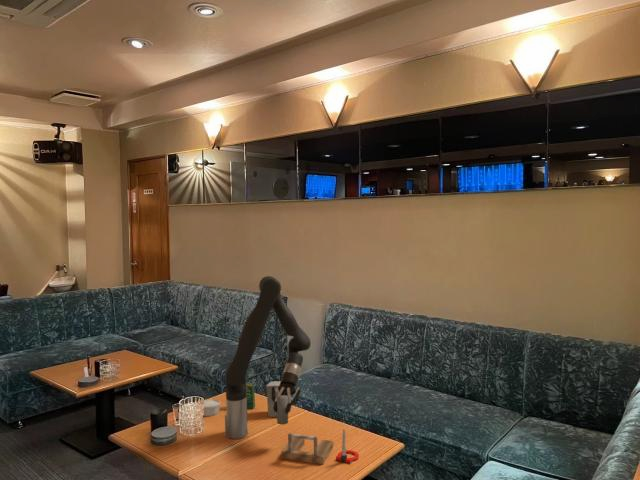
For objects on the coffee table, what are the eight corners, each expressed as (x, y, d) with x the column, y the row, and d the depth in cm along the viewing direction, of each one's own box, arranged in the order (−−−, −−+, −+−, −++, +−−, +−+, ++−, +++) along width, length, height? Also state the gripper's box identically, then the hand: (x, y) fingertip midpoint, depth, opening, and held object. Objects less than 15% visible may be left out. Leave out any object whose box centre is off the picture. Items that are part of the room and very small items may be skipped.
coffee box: (239, 407, 242) (238, 383, 241) (241, 405, 245) (240, 381, 244) (252, 409, 239) (252, 384, 239) (255, 407, 242) (254, 382, 242)
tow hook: (343, 451, 194) (333, 460, 185) (343, 420, 194) (333, 428, 186) (362, 455, 189) (352, 465, 181) (362, 424, 190) (352, 432, 182)
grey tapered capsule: (275, 423, 196) (275, 398, 196) (279, 419, 201) (279, 394, 201) (285, 425, 195) (285, 399, 195) (289, 420, 199) (289, 395, 199)
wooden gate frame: (281, 458, 188) (280, 434, 187) (293, 442, 201) (293, 420, 201) (323, 464, 182) (323, 439, 182) (333, 447, 196) (332, 424, 195)
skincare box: (280, 417, 228) (279, 386, 227) (266, 417, 229) (265, 385, 229) (284, 411, 236) (284, 380, 236) (271, 410, 238) (270, 380, 237)
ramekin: (225, 411, 238) (224, 401, 238) (209, 419, 229) (209, 408, 228) (209, 407, 244) (209, 397, 244) (193, 414, 235) (193, 404, 234)
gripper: (273, 369, 207) (263, 406, 195) (303, 372, 202) (294, 410, 191) (278, 377, 212) (268, 413, 201) (307, 381, 208) (298, 417, 196)
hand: (281, 411), depth 196 cm, fingers closed on grey tapered capsule, 4 cm apart
